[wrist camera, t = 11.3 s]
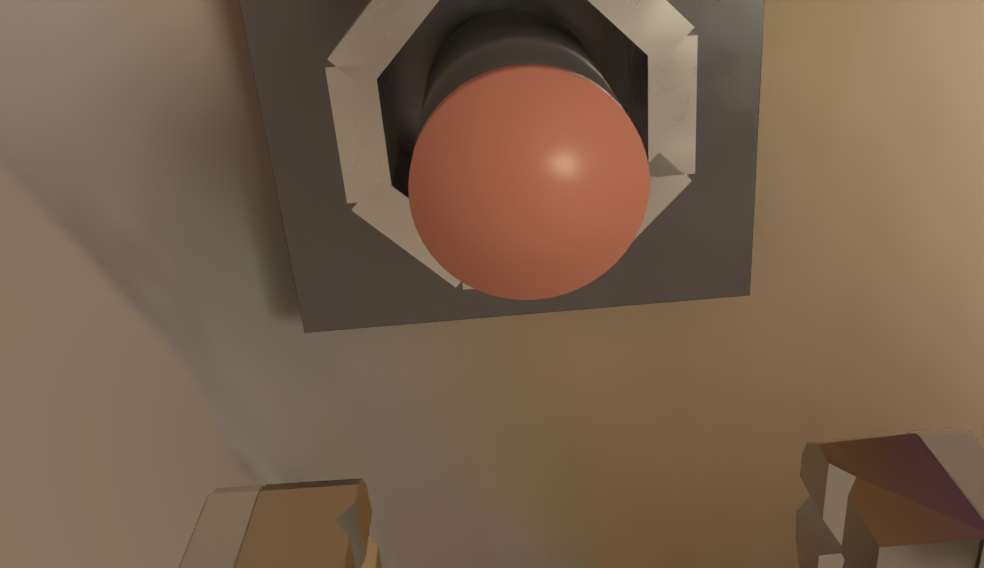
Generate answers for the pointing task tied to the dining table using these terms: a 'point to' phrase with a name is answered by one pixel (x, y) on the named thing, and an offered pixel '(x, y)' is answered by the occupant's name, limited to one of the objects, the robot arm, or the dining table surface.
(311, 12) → the octagon ring plate
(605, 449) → the dining table surface
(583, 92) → the dome-topped dark cylinder
